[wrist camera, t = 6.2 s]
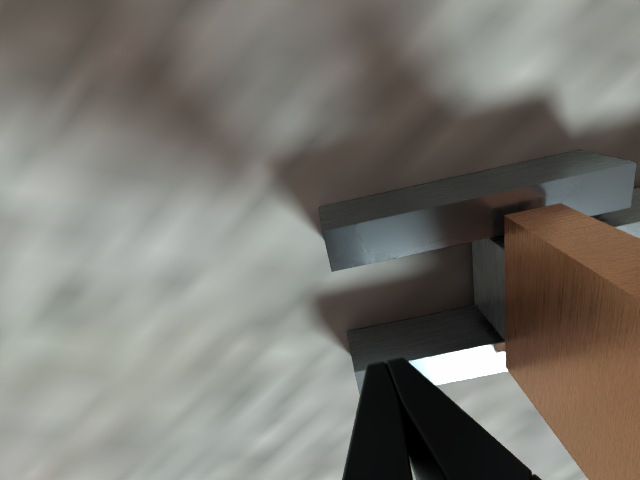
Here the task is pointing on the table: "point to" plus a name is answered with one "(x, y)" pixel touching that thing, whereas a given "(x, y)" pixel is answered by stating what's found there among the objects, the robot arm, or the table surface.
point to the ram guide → (453, 229)
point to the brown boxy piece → (571, 325)
